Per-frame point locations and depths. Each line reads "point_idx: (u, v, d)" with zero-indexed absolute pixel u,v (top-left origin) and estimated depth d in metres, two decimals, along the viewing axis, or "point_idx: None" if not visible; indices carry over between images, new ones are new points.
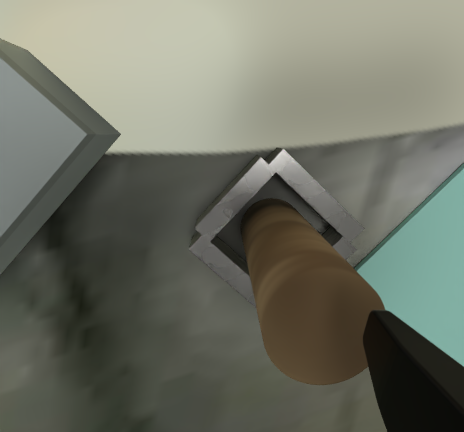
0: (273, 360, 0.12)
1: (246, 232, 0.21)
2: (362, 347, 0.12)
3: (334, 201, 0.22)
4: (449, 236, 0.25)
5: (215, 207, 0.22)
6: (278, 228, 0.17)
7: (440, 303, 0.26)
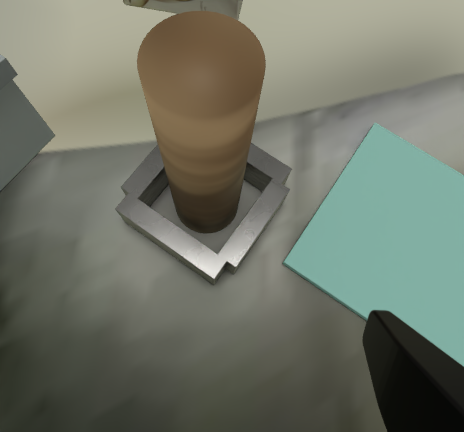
0: (152, 95, 0.11)
1: None
2: (245, 75, 0.12)
3: (255, 147, 0.23)
4: (384, 186, 0.24)
5: (141, 165, 0.22)
6: None
7: (405, 256, 0.23)
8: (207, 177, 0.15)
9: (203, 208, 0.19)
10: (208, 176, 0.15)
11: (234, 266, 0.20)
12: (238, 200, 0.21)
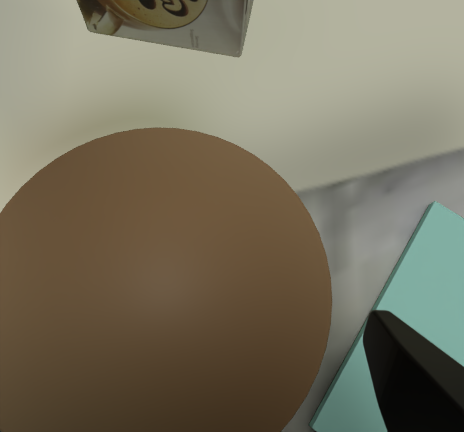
0: None
1: None
2: (275, 329, 0.04)
3: None
4: (454, 299, 0.17)
5: None
6: None
7: None
8: None
9: None
10: None
11: None
12: None
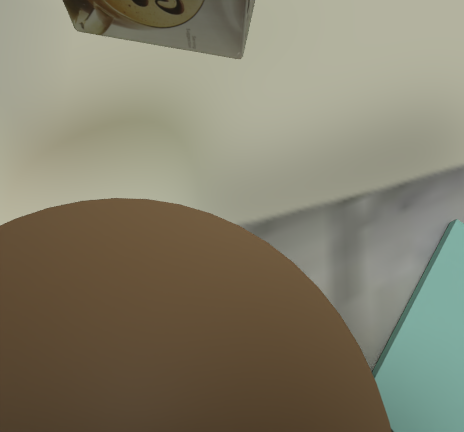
0: None
1: None
2: None
3: None
4: None
5: None
6: None
7: None
8: None
9: None
10: None
11: None
12: None
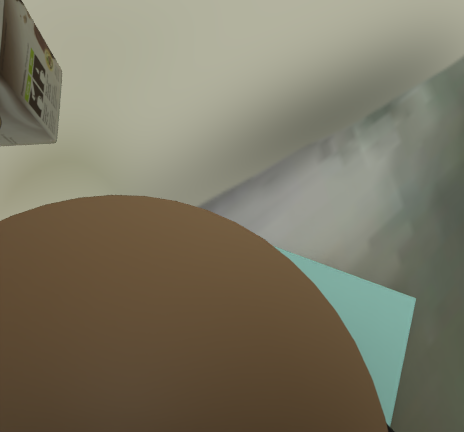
0: None
1: None
2: None
3: None
4: None
5: None
6: None
7: None
8: None
9: None
10: None
11: None
12: None
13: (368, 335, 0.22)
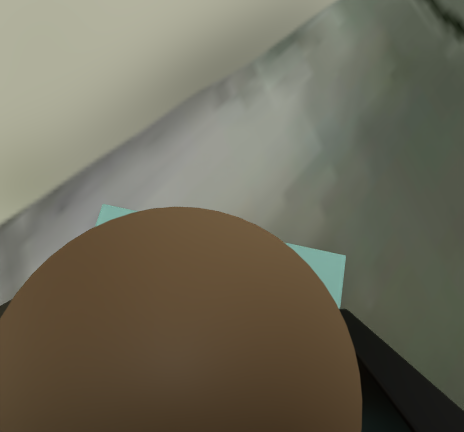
0: None
1: None
2: None
3: None
4: None
5: None
6: None
7: None
8: None
9: None
10: None
11: None
12: None
13: None
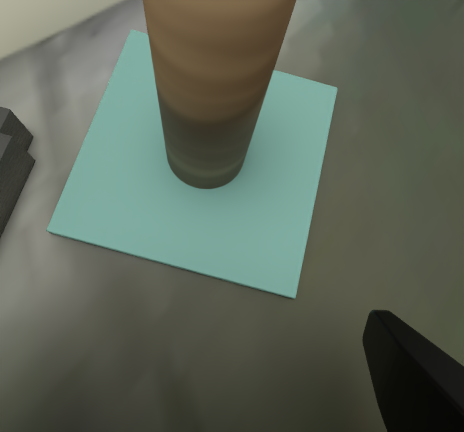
0: None
1: None
2: None
3: None
4: None
5: None
6: None
7: None
8: (218, 84, 0.10)
9: (204, 146, 0.14)
10: (219, 83, 0.10)
11: None
12: (248, 146, 0.17)
13: (288, 123, 0.20)
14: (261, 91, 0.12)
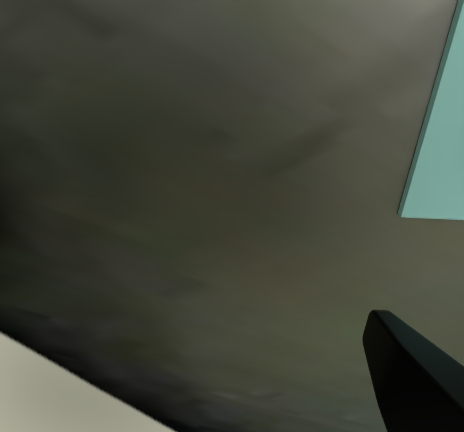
0: None
1: None
2: None
3: None
4: None
5: None
6: None
7: None
8: None
9: None
10: None
11: None
12: None
13: None
14: None
